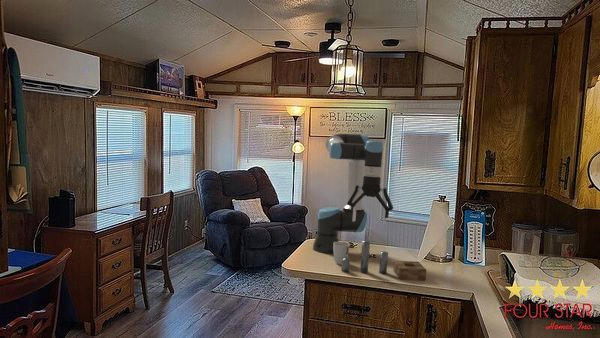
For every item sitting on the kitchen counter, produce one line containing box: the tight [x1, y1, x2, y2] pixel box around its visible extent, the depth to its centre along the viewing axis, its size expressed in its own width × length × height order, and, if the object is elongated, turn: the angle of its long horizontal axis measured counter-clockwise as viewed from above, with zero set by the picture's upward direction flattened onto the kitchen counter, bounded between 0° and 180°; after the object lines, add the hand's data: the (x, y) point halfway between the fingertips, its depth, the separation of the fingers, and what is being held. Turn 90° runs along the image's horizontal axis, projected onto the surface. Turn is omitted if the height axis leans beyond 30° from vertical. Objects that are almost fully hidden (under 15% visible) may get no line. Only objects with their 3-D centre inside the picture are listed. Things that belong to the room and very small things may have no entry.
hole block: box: [392, 260, 427, 281], centre depth 204 cm, size 12×12×5 cm
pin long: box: [359, 239, 371, 274], centre depth 205 cm, size 4×4×15 cm
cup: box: [333, 241, 350, 266], centre depth 217 cm, size 8×8×10 cm
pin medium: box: [378, 251, 389, 275], centre depth 205 cm, size 4×4×10 cm
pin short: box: [340, 257, 351, 273], centre depth 205 cm, size 4×4×6 cm
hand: (368, 223), depth 193 cm, fingers open, 13 cm apart
